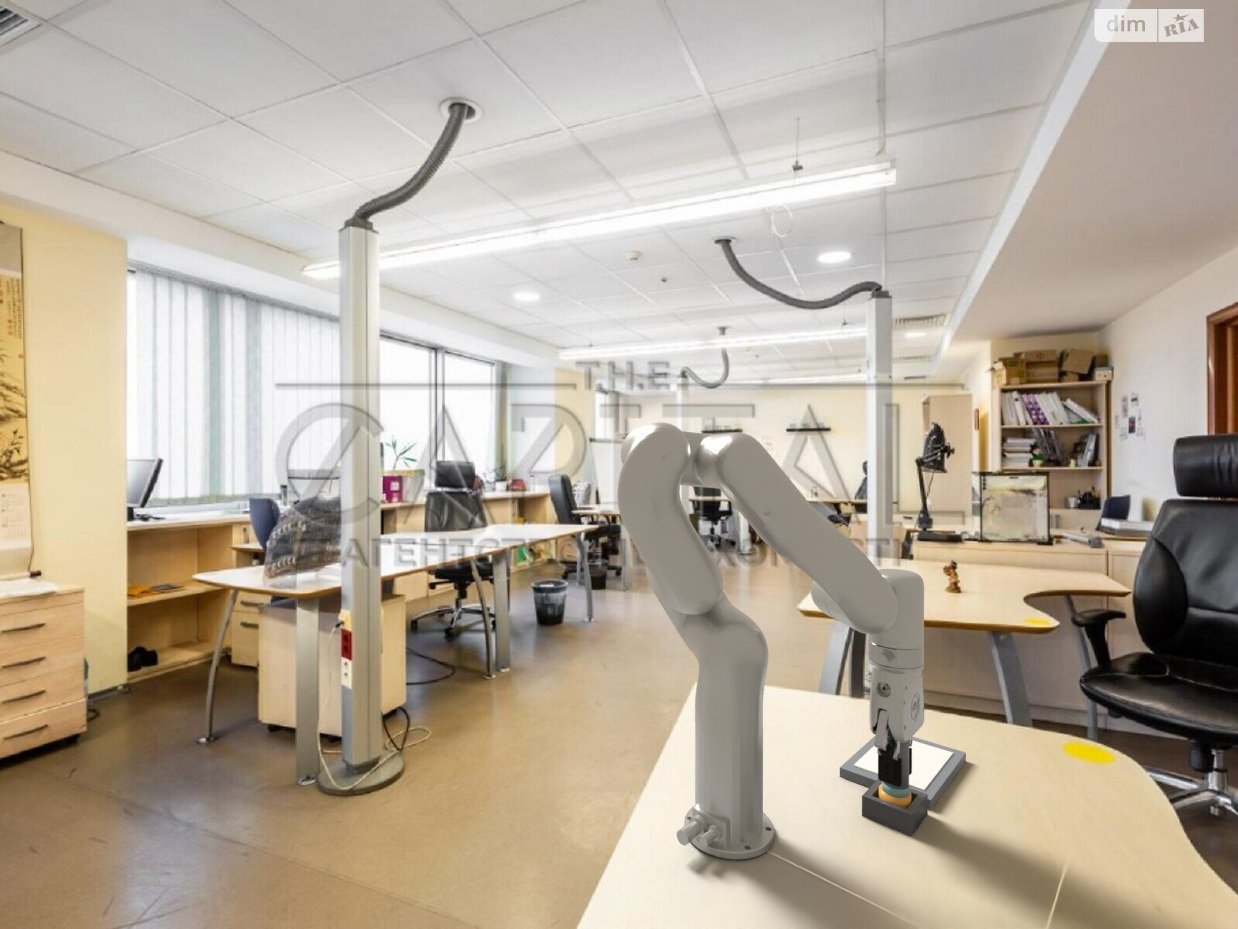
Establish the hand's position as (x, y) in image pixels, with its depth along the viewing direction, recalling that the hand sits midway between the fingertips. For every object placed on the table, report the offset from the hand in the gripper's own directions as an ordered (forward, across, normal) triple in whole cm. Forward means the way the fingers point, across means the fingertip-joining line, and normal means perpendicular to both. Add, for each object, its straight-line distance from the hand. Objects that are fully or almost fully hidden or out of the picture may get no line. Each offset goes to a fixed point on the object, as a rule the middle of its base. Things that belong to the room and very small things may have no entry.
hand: (895, 776), depth 90 cm
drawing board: (+6, +15, +4) cm, 16 cm away
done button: (+5, 0, 0) cm, 5 cm away
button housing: (+6, 0, 0) cm, 6 cm away
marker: (+2, 0, 0) cm, 2 cm away
